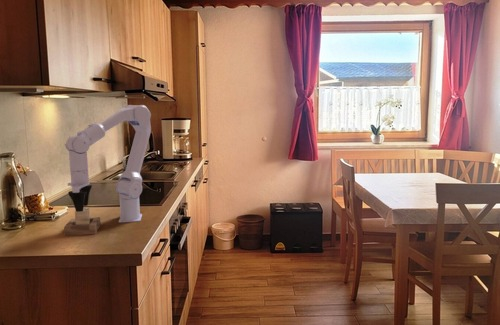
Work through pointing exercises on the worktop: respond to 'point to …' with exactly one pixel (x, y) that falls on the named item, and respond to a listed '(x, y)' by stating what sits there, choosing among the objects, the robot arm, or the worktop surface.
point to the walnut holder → (82, 227)
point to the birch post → (82, 216)
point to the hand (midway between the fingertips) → (82, 208)
